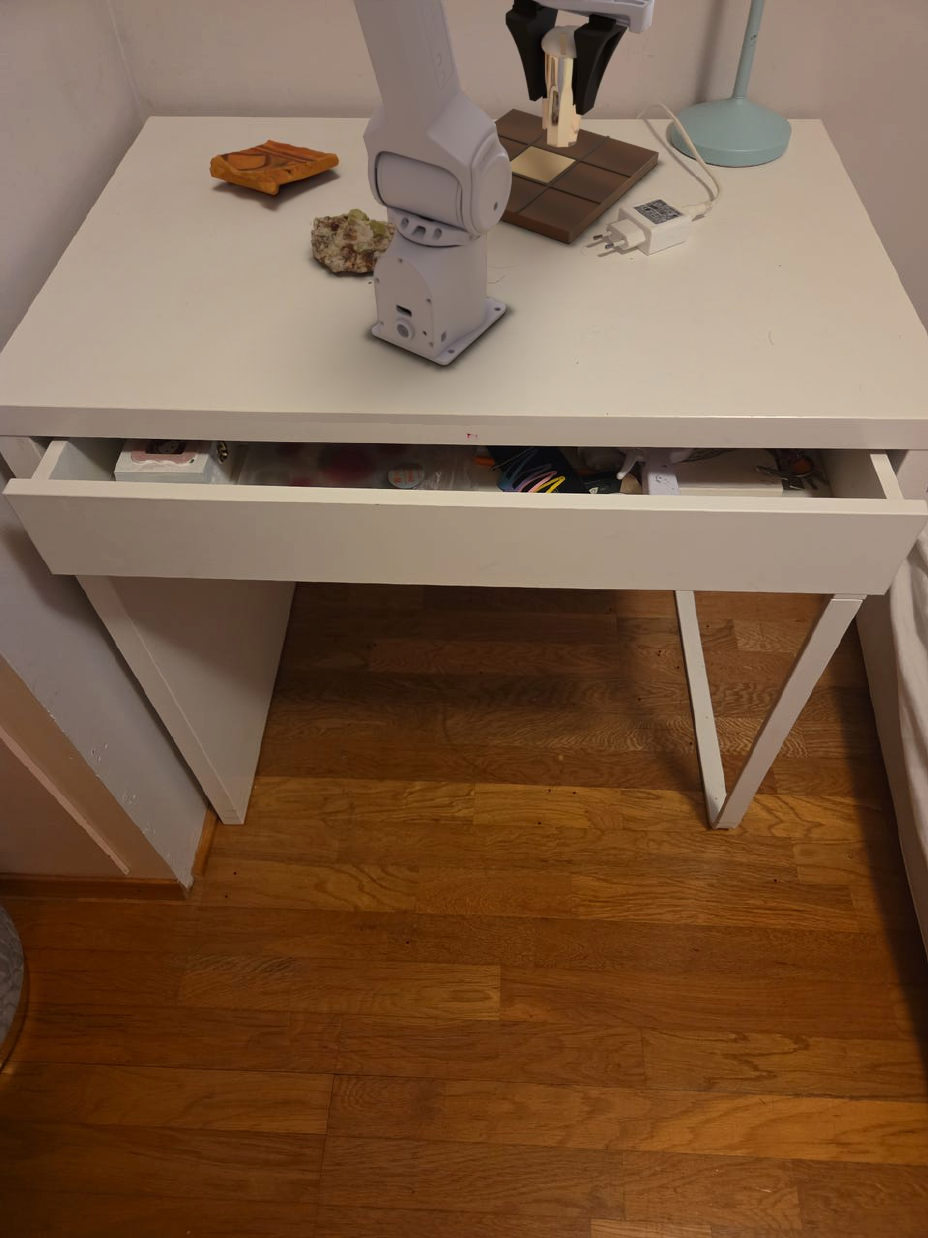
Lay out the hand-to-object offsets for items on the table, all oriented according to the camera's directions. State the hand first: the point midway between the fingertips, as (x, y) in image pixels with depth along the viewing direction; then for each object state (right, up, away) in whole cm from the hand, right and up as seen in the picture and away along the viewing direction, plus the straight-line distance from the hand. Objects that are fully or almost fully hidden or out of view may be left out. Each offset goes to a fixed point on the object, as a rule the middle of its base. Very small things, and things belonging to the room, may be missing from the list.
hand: (561, 103), depth 79 cm
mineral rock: (-18, -12, +4) cm, 22 cm away
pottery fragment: (-28, -1, +13) cm, 30 cm away
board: (-1, -1, +12) cm, 12 cm away
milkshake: (0, -2, +3) cm, 4 cm away
